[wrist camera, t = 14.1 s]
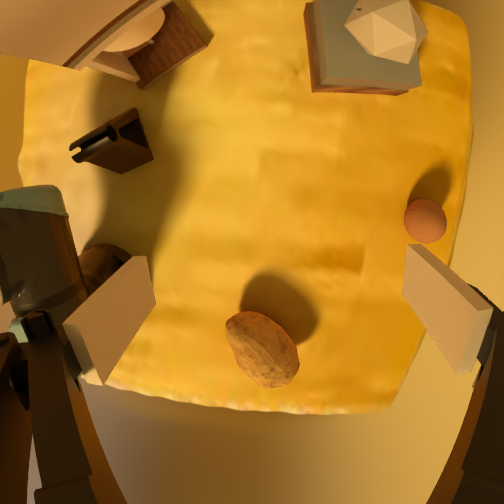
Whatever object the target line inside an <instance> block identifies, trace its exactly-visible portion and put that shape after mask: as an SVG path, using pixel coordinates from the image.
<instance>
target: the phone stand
mask: <svg viewBox="0 0 504 504" xmlns="http://www.w3.org/2000/svg"><path fill="white" fill-rule="evenodd" d="M77 147H79V148H81V151H80V152H79V153H77V154H75V155H74V156H72V159H73V160H74V161H75V162H77V163H82V162H89V163H92V164H95V165H97V166H100V167H103V168H106V169H108V170H111V171H114V172H117V173H119V174H123V173H125V172H127V171H129V170H131V169H133V168H136V167H138V166H140V165H142V164H145V163H147V162H149V161H151V160H153V156H152V153H151V150H150V147H149V144H148V141H147V139H146V136H145V134H144V130H143V127H142V124H141V121H140V118H139V115H138V112H137V109H136V108H133V109H131V110H129V111H127V112H125V113H123V114H121V115H119V116H117V117H116V118H114V119H112V120H110V121H108V122H106V123H105V124H103V125H102V126H100V127H98V128H97V129H95V130H93V131H91V132H90V133H88V134H86V135H85V136H83V137H81V138H80V139H78V140H76V141H75V142H73V143H72V144H71V145H70V147H69V151H72V150H73V149H75V148H77Z"/></svg>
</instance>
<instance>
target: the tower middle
mask: <svg viewBox="0 0 504 504" xmlns="http://www.w3.org/2000/svg"><path fill="white" fill-rule="evenodd" d="M357 2H358V0H315V1H314V4H313V11H314V19H315V27H316V36H317V46H318V56H319V67H320V79H321V84H324V85H350V86H366V87H378V88H389V89H398V90H409V89H412V88H415V87H418V86H421V76H420V67H419V59H418V52H417V51H416V52H415V54H414V56H413V57H412V59H411V61H410V62H409V64H405V63H401V62H397V61H394V60H390V59H386V58H381V57H377V56H373V55H369V54H367V52H366V51H365V50H364V49H363V47H362V46H361V45H360V44H359V42H358V41H357V40H356V39H355V38H354V36H353V35H352V34H351V33H350V32H349V31H348V29H347V28H346V27H345V26H344V25H345V23H346V21H347V19H348V18H349V16H350V14H351V12H352V11H353V9H354V7H355V5H356V4H357Z"/></svg>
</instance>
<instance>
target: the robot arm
mask: <svg viewBox="0 0 504 504" xmlns="http://www.w3.org/2000/svg"><path fill="white" fill-rule="evenodd" d="M68 218H69V215H68V213H66V209H65V205H64V201H63V197H62V194H61V191H60V190H59V189H58V188H57V187H55V186H53V185H36V186H28V187H22V188H17V189H11V190H7V191H4V192H0V305H3V304H5V303H6V302H8V301H10V303H11V306H12V308H13V311H14V313H15V316H16V318H14V319H13V320H12V321H11V324H10V326H9V332H6V333H1V334H0V504H27V485H28V470H29V459H30V450H31V441H32V434H33V438H34V445H35V451H36V457H37V462H38V468H39V473H40V477H41V482H42V488H40V489H36V490H35V492H34V499H35V504H127V502H126V501H125V498H124V496H123V494H122V492H121V490H120V488H119V486H118V484H117V482H116V479H115V478H114V475H113V473H112V471H111V468H110V466H109V464H108V461H107V459H106V456H105V454H104V451H103V449H102V446H101V444H100V441H99V439H98V436H97V433H96V430H95V428H94V425H93V422H92V419H91V416H90V413H89V410H88V407H87V404H86V401H85V398H84V394H83V391H82V387H81V384H80V382H79V380H78V379H79V378H80V376H81V375H82V374H83V375H84V377H85V379H86V381H87V383H91V384H97V385H103V384H104V383H105V381H106V380H107V378H108V377H109V375H110V373H111V372H112V370H113V369H114V367H115V365H116V364H117V362H118V361H119V359H120V358H121V356H122V354H123V353H124V351H125V350H126V348H127V347H128V345H129V344H130V342H131V341H132V339H133V338H134V336H135V334H136V333H137V331H138V330H139V328H140V327H141V325H142V324H143V322H144V321H145V319H146V318H147V316H148V315H149V313H150V312H151V310H152V309H153V307H154V306H155V304H156V301H155V296H154V291H153V287H152V282H151V277H150V272H149V267H148V262H147V257H146V256H133V257H131V256H130V255H129V254H128V253H127V252H125V251H124V250H122V249H120V248H118V247H116V246H113V245H108V244H99V245H95V246H92V247H90V248H89V249H87V250H86V251H84V252H83V253H82V254H81V255H80V256H79V257H78V255H77V252H76V248H75V244H74V240H73V236H72V232H71V228H70V224H69V219H68ZM402 295H403V297H404V298H405V299H406V301H407V302H408V304H409V305H410V306H411V308H412V309H413V311H414V312H415V313H416V315H417V316H418V318H419V319H420V321H421V322H422V323H423V325H424V326H425V328H426V329H427V331H428V332H429V334H430V335H431V337H432V338H433V340H434V341H435V343H436V344H437V346H438V347H439V349H440V350H441V352H442V353H443V355H444V356H445V358H446V360H447V361H448V363H449V364H450V366H451V368H452V369H453V371H454V372H455V374H456V375H459V374H464V373H468V372H471V371H472V369H473V367H474V365H475V362H476V359H478V360H479V362H480V363H481V367H480V369H479V372H478V374H477V377H476V379H475V381H474V383H473V386H472V387H473V388H474V390H473V393H472V396H471V400H470V403H469V406H468V409H467V412H466V415H465V418H464V421H463V424H462V426H461V429H460V432H459V434H458V437H457V439H456V442H455V444H454V447H453V449H452V452H451V454H450V457H449V459H448V461H447V463H446V465H445V467H444V470H443V472H442V474H441V476H440V478H439V480H438V482H437V484H436V486H435V488H434V490H433V492H432V494H431V496H430V498H429V499H428V501H427V503H426V504H504V311H503V312H502V311H501V310H500V309H499V308H498V307H496V305H495V304H493V303H492V302H491V301H490V300H488V298H487V297H486V296H485V295H483V293H481V292H480V291H479V290H478V289H477V288H476V287H474V286H472V285H470V284H468V283H466V282H465V281H464V280H462V279H461V278H460V277H459V276H458V275H457V274H456V273H454V272H453V271H452V270H451V269H450V268H449V267H448V266H446V265H445V264H444V263H443V262H442V261H441V260H439V259H438V258H437V257H436V256H435V255H433V254H432V253H431V252H430V251H428V250H427V249H426V248H425V247H424V246H422V245H421V244H411V245H408V246H407V256H406V265H405V274H404V281H403V289H402Z"/></svg>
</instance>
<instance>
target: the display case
mask: <svg viewBox="0 0 504 504" xmlns="http://www.w3.org/2000/svg"><path fill="white" fill-rule="evenodd" d="M205 48H207V46H206V45H205V43H204V42H203V41H202V39H201V38H200V37H199V35H198V34H197V33H196V31H195V30H194V28H193V27H192V26H191V24H190V23H189V22H188V20H187V19H186V18H185V16H184V15H183V14H182V13H181V11H180V10H179V9H178V7H177V6H176V5H175V4H174V2H173V1H172V0H0V54H5V55H11V56H16V57H22V58H27V59H32V60H37V61H42V62H46V63H51V64H55V65H59V66H64V67H68V68H72V69H76V70H79V71H80V70H82V69H83V68H84V67H85V66H87V67H90V68H93V69H96V70H100V71H103V72H106V73H109V74H112V75H115V76H118V77H121V78H124V79H127V80H130V81H133V82H135V83H136V84H137V85H138V87H139V88H140V89H143V90H145V89H147V88H148V87H149V86H151V85H152V84H153V83H155V82H156V81H157V80H159V79H160V78H161V77H163V76H164V75H166V74H167V73H168V72H170V71H171V70H173V69H174V68H176V67H177V66H179V65H180V64H182V63H183V62H185V61H186V60H188V59H189V58H191V57H192V56H194V55H195V54H197V53H199V52H200V51H202V50H203V49H205Z"/></svg>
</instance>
